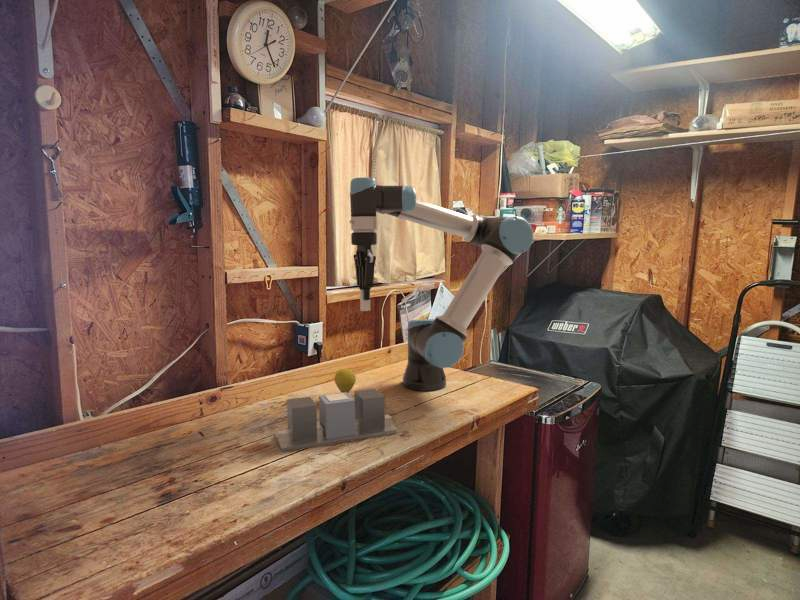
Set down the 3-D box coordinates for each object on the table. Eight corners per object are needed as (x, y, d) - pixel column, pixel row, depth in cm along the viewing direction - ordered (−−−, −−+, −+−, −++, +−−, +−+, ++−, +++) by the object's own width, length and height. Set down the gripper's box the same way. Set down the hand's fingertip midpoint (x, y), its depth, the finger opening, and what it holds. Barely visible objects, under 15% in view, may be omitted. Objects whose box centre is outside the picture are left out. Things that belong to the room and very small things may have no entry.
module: (346, 424, 134) (346, 391, 133) (355, 434, 127) (354, 399, 126) (319, 428, 131) (318, 394, 130) (326, 438, 124) (326, 403, 123)
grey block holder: (383, 420, 140) (383, 385, 138) (397, 433, 130) (397, 396, 129) (275, 436, 128) (273, 399, 127) (281, 452, 119) (280, 412, 118)
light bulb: (345, 404, 152) (345, 373, 151) (330, 400, 156) (329, 369, 155) (360, 399, 157) (360, 368, 156) (345, 394, 161) (344, 365, 160)
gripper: (344, 231, 151) (346, 308, 154) (359, 231, 139) (360, 314, 142) (368, 231, 154) (369, 306, 157) (383, 231, 142) (385, 312, 145)
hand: (365, 310), depth 150 cm, fingers closed
